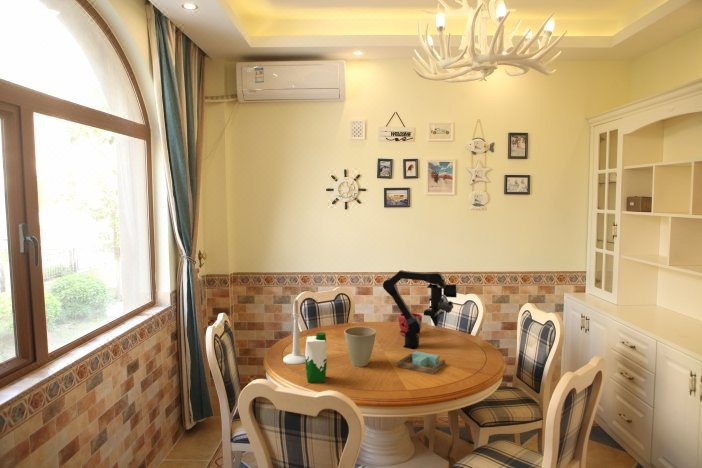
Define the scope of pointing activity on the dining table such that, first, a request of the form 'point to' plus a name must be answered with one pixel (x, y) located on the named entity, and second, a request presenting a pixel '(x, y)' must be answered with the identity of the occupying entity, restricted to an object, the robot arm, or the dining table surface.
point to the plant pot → (360, 344)
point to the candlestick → (295, 342)
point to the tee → (424, 359)
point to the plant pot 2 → (404, 325)
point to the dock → (406, 365)
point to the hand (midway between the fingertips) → (436, 326)
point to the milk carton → (316, 358)
